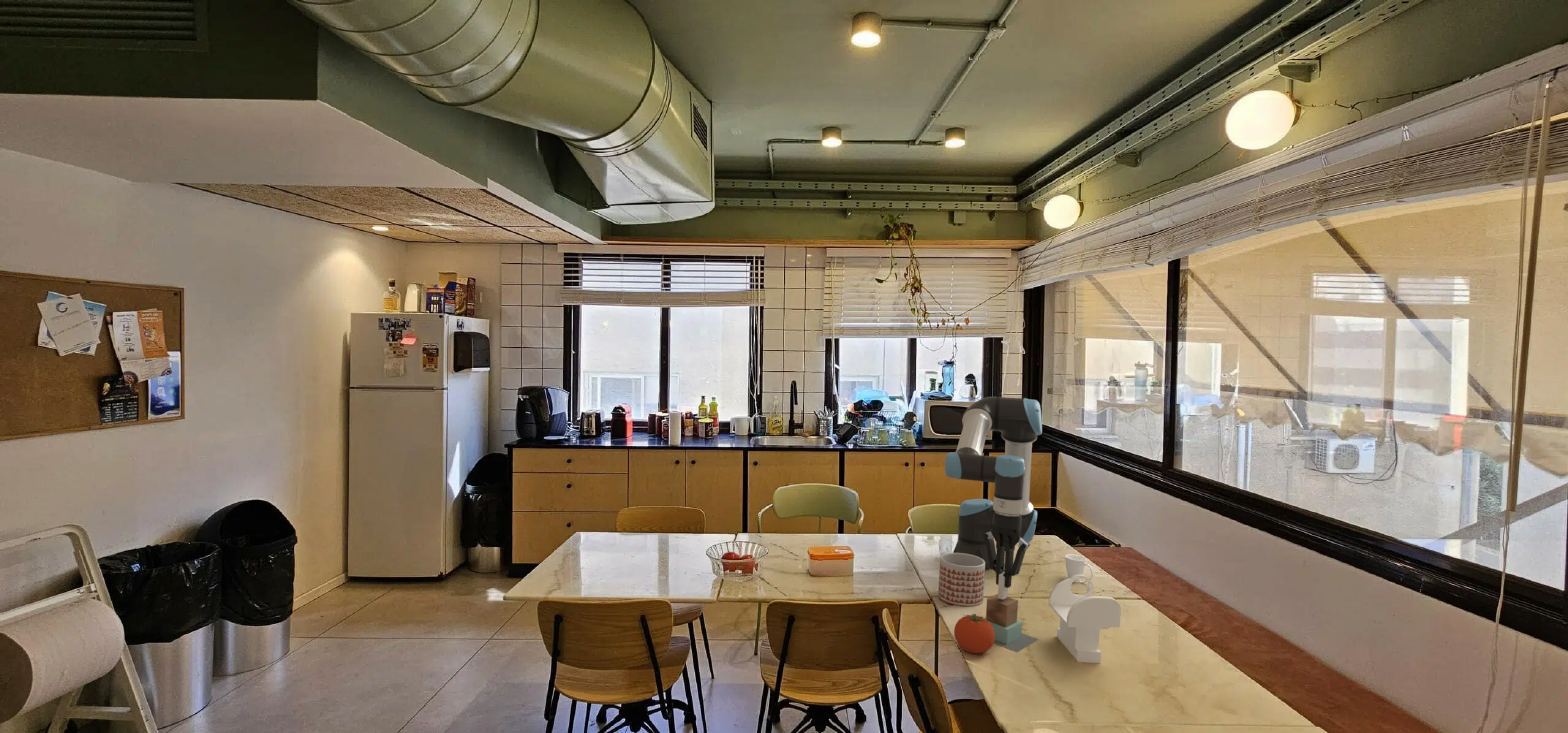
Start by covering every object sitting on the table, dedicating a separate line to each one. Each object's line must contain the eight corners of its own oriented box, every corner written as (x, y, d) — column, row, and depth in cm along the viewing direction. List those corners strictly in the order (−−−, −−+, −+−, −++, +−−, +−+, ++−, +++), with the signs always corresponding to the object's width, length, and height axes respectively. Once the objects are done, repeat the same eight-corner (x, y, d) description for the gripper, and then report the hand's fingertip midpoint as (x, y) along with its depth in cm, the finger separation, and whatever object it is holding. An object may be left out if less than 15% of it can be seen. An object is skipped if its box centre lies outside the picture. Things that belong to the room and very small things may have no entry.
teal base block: (979, 634, 185) (980, 620, 185) (994, 626, 191) (995, 612, 191) (1006, 644, 180) (1007, 629, 179) (1021, 636, 185) (1022, 622, 185)
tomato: (987, 665, 169) (989, 625, 168) (947, 653, 174) (949, 615, 174) (998, 649, 177) (1000, 612, 177) (960, 639, 183) (962, 603, 182)
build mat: (963, 632, 187) (963, 631, 187) (985, 621, 195) (985, 619, 195) (1017, 653, 175) (1017, 652, 175) (1038, 640, 184) (1038, 639, 184)
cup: (1071, 575, 238) (1072, 553, 237) (1098, 584, 229) (1099, 561, 229) (1059, 578, 234) (1060, 556, 233) (1086, 588, 225) (1087, 564, 225)
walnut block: (985, 620, 185) (986, 598, 185) (996, 614, 189) (997, 593, 189) (1006, 627, 181) (1007, 605, 181) (1016, 621, 185) (1018, 600, 185)
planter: (986, 596, 215) (988, 556, 214) (979, 611, 202) (981, 569, 202) (943, 588, 221) (945, 549, 220) (933, 602, 208) (935, 561, 208)
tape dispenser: (1046, 637, 186) (1050, 573, 185) (1093, 639, 186) (1097, 575, 185) (1066, 661, 172) (1070, 592, 171) (1117, 664, 172) (1121, 595, 171)
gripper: (978, 509, 186) (974, 593, 187) (1023, 520, 177) (1018, 608, 178) (992, 505, 191) (988, 587, 192) (1036, 515, 182) (1031, 601, 183)
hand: (1002, 597), depth 185 cm, fingers closed
